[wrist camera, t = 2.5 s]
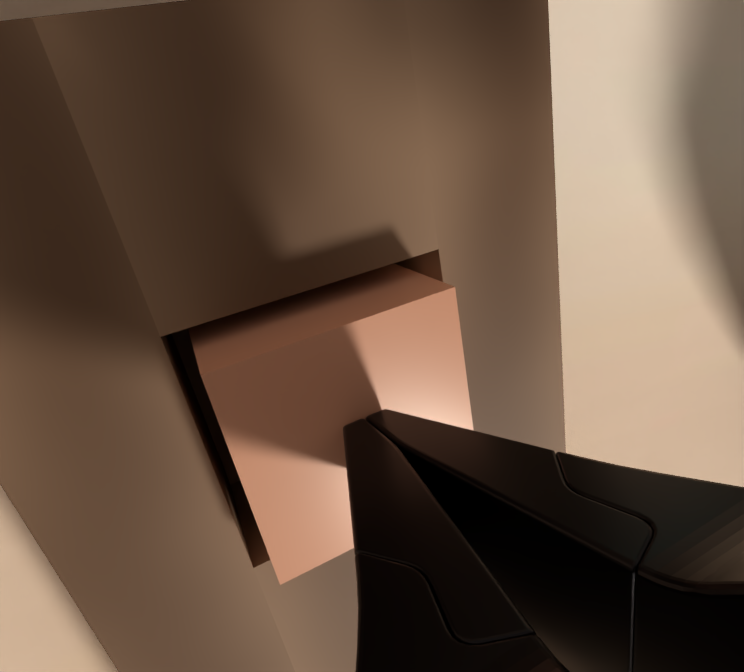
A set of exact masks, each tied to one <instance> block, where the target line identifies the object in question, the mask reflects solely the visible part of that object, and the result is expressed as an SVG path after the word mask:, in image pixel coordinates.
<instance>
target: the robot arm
mask: <svg viewBox="0 0 744 672" xmlns="http://www.w3.org/2000/svg"><path fill="white" fill-rule="evenodd" d="M343 438H344V449H345V459H346V470H347V480H348V491H349V501H350V512H351V522H352V533H353V543H354V554H355V568H356V578H357V598H358V628H357V655H356V670H355V672H744V487H739V486H733V485H727V484H721V483H715V482H710V481H704V480H698V479H692V478H686V477H680V476H675V475H669V474H663V473H657V472H652V471H646V470H641V469H636V468H630V467H625V466H620V465H615V464H610V463H606V462H601V461H597V460H593V459H588V458H584V457H579V456H575V455H571V454H567V453H563V452H557V453H555V451H554V450H551V449H547V448H542V447H538V446H534V445H530V444H526V443H522V442H518V441H514V440H510V439H506V438H502V437H498V436H494V435H490V434H486V433H482V432H478V431H474V430H469V429H465V428H461V427H457V426H453V425H449V424H445V423H441V422H437V421H433V420H429V419H425V418H421V417H417V416H413V415H409V414H405V413H401V412H396V411H392V410H388V409H383V410H381V411H378V412H376V413H373V414H371V415H369V416H367V417H366V419H359V420H357V421H354V422H352V423H350V424H347V425H345V426H344V427H343Z"/></svg>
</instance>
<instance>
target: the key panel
mask: <svg viewBox="0 0 744 672" xmlns="http://www.w3.org/2000/svg"><path fill="white" fill-rule="evenodd" d="M393 263H394V264H397V265H399V266H402V267H404V268H407V269H410V270H412V271H415V272H418V273H420V274H423V275H425V276H428V277H431V278H433V279H436V280H439V281H441V282H444V283H446V284H449V285H452V286H454V287H455V290H456V298H457V306H458V313H459V321H460V329H461V337H462V344H463V352H464V360H465V367H466V375H467V383H468V391H469V398H470V406H471V414H472V422H473V429H474V431H478V432H482V433H486V434H490V435H494V436H498V437H502V438H506V439H510V440H514V441H518V442H522V443H526V444H530V445H534V446H538V447H542V448H547V449H551V450H554V451H555V453H557V452H563V453H566V449H565V423H564V398H563V372H562V346H561V321H560V295H559V270H558V244H557V219H556V193H555V168H554V142H553V116H552V91H551V65H550V40H549V14H548V0H186V1H177V2H168V3H159V4H150V5H141V6H132V7H123V8H114V9H105V10H96V11H87V12H78V13H69V14H61V15H52V16H43V17H34V18H25V19H16V20H7V21H0V484H1V486H2V487H3V489H4V491H5V492H6V494H7V495H8V497H9V499H10V500H11V502H12V503H13V505H14V506H15V508H16V510H17V511H18V513H19V514H20V516H21V518H22V519H23V521H24V522H25V524H26V525H27V527H28V529H29V530H30V532H31V533H32V535H33V537H34V538H35V540H36V541H37V543H38V544H39V546H40V548H41V549H42V551H43V552H44V554H45V556H46V557H47V559H48V560H49V562H50V563H51V565H52V567H53V568H54V570H55V571H56V573H57V575H58V576H59V578H60V579H61V581H62V582H63V584H64V586H65V587H66V589H67V590H68V592H69V594H70V595H71V597H72V598H73V600H74V601H75V603H76V605H77V606H78V608H79V609H80V611H81V613H82V614H83V616H84V617H85V619H86V620H87V622H88V624H89V625H90V627H91V628H92V630H93V632H94V633H95V635H96V636H97V638H98V639H99V641H100V643H101V644H102V646H103V647H104V649H105V651H106V652H107V654H108V655H109V657H110V658H111V660H112V662H113V663H114V665H115V666H116V668H117V670H118V671H119V672H355V670H356V655H357V628H358V598H357V578H356V568H355V554H354V548H353V549H351V550H349V551H347V552H345V553H343V554H341V555H339V556H337V557H335V558H333V559H331V560H329V561H327V562H325V563H323V564H321V565H319V566H317V567H315V568H313V569H311V570H309V571H307V572H305V573H303V574H301V575H299V576H297V577H295V578H293V579H291V580H289V581H287V582H285V583H283V584H281V585H280V583H279V581H278V578H277V575H276V573H275V570H274V568H273V565H272V562H271V560H270V557H269V554H268V552H267V549H266V546H265V544H264V541H263V539H262V536H261V533H260V531H259V528H258V525H257V523H256V520H255V517H254V515H253V512H252V510H251V507H250V504H249V502H248V499H247V496H246V494H245V491H244V488H243V486H242V483H241V480H240V478H239V475H238V473H237V470H236V467H235V465H234V462H233V459H232V457H231V454H230V451H229V449H228V446H227V444H226V441H225V438H224V436H223V433H222V430H221V428H220V425H219V422H218V420H217V417H216V415H215V412H214V409H213V407H212V404H211V401H210V399H209V396H208V393H207V391H206V388H205V386H204V383H203V380H202V378H201V375H200V371H199V367H198V364H197V360H196V356H195V353H194V349H193V345H192V342H191V338H190V334H189V331H188V328H190V327H193V326H196V325H200V324H203V323H206V322H209V321H212V320H215V319H219V318H222V317H225V316H228V315H231V314H234V313H238V312H241V311H244V310H247V309H250V308H253V307H257V306H260V305H263V304H266V303H269V302H272V301H276V300H279V299H282V298H285V297H288V296H292V295H295V294H298V293H301V292H304V291H307V290H311V289H314V288H317V287H320V286H323V285H326V284H330V283H333V282H336V281H339V280H342V279H345V278H349V277H352V276H355V275H358V274H361V273H364V272H368V271H371V270H374V269H377V268H380V267H384V266H387V265H390V264H393Z"/></svg>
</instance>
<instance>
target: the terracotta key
mask: <svg viewBox="0 0 744 672" xmlns="http://www.w3.org/2000/svg"><path fill="white" fill-rule="evenodd" d="M188 331H189V334H190V338H191V342H192V345H193V349H194V353H195V356H196V360H197V364H198V367H199V371H200V375H201V378H202V380H203V383H204V386H205V388H206V391H207V393H208V396H209V399H210V401H211V404H212V407H213V409H214V412H215V415H216V417H217V420H218V422H219V425H220V428H221V430H222V433H223V436H224V438H225V441H226V444H227V446H228V449H229V451H230V454H231V457H232V459H233V462H234V465H235V467H236V470H237V473H238V475H239V478H240V480H241V483H242V486H243V488H244V491H245V494H246V496H247V499H248V502H249V504H250V507H251V510H252V512H253V515H254V517H255V520H256V523H257V525H258V528H259V531H260V533H261V536H262V539H263V541H264V544H265V546H266V549H267V552H268V554H269V557H270V560H271V562H272V565H273V568H274V570H275V573H276V575H277V578H278V581H279V583H280V585H281V584H283V583H285V582H287V581H289V580H291V579H293V578H295V577H297V576H299V575H301V574H303V573H305V572H307V571H309V570H311V569H313V568H315V567H317V566H319V565H321V564H323V563H325V562H327V561H329V560H331V559H333V558H335V557H337V556H339V555H341V554H343V553H345V552H347V551H349V550H351V549H353V548H354V543H353V533H352V522H351V512H350V501H349V491H348V480H347V470H346V459H345V449H344V438H343V427H344V426H345V425H347V424H350V423H352V422H354V421H357V420H359V419H366V417H367V416H369V415H371V414H373V413H376V412H378V411H381V410H383V409H388V410H392V411H396V412H401V413H405V414H409V415H413V416H417V417H421V418H425V419H429V420H433V421H437V422H441V423H445V424H449V425H453V426H457V427H461V428H465V429H469V430H474V429H473V422H472V414H471V406H470V398H469V391H468V383H467V375H466V367H465V360H464V352H463V344H462V337H461V329H460V321H459V313H458V306H457V298H456V290H455V287H454V286H452V285H449V284H446V283H444V282H441V281H439V280H436V279H433V278H431V277H428V276H425V275H423V274H420V273H418V272H415V271H412V270H410V269H407V268H404V267H402V266H399V265H397V264H394V263H393V264H390V265H387V266H384V267H380V268H377V269H374V270H371V271H368V272H364V273H361V274H358V275H355V276H352V277H349V278H345V279H342V280H339V281H336V282H333V283H330V284H326V285H323V286H320V287H317V288H314V289H311V290H307V291H304V292H301V293H298V294H295V295H292V296H288V297H285V298H282V299H279V300H276V301H272V302H269V303H266V304H263V305H260V306H257V307H253V308H250V309H247V310H244V311H241V312H238V313H234V314H231V315H228V316H225V317H222V318H219V319H215V320H212V321H209V322H206V323H203V324H200V325H196V326H193V327H190V328H188Z"/></svg>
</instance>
